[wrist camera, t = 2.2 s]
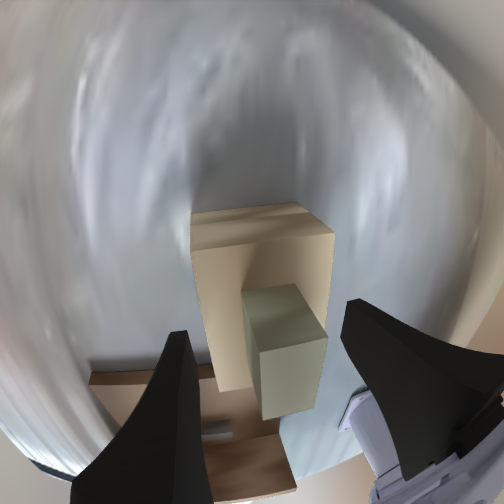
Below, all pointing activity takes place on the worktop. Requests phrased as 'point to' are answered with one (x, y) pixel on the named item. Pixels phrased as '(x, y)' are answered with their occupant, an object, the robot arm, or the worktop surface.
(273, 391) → the saddle block
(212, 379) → the cleat board
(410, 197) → the worktop surface
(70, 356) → the worktop surface
